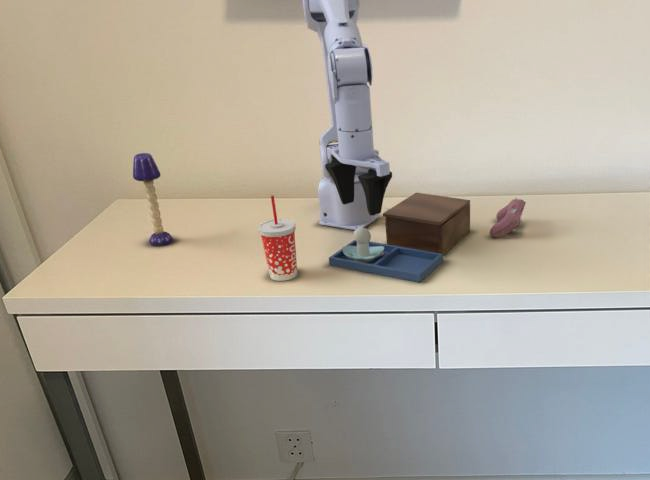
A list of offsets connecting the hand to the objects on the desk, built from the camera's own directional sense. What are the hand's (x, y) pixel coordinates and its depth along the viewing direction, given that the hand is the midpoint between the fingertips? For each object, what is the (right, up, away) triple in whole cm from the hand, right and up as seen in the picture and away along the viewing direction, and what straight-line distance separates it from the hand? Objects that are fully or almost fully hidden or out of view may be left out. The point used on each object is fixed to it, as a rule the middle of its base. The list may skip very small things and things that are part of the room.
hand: (361, 208), depth 129 cm
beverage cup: (-13, -12, 0) cm, 18 cm away
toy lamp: (-39, -4, +14) cm, 42 cm away
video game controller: (+26, -1, +16) cm, 31 cm away
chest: (+11, -3, +13) cm, 17 cm away
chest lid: (+11, +2, +9) cm, 15 cm away
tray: (+4, -9, +3) cm, 11 cm away
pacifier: (0, -8, +5) cm, 10 cm away
